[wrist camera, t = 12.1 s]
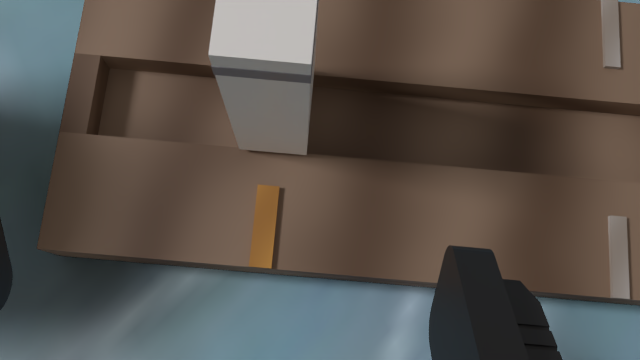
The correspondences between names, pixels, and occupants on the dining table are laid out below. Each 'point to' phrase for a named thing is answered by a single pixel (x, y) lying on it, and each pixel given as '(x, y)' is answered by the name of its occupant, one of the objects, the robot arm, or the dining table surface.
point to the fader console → (365, 146)
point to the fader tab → (266, 70)
